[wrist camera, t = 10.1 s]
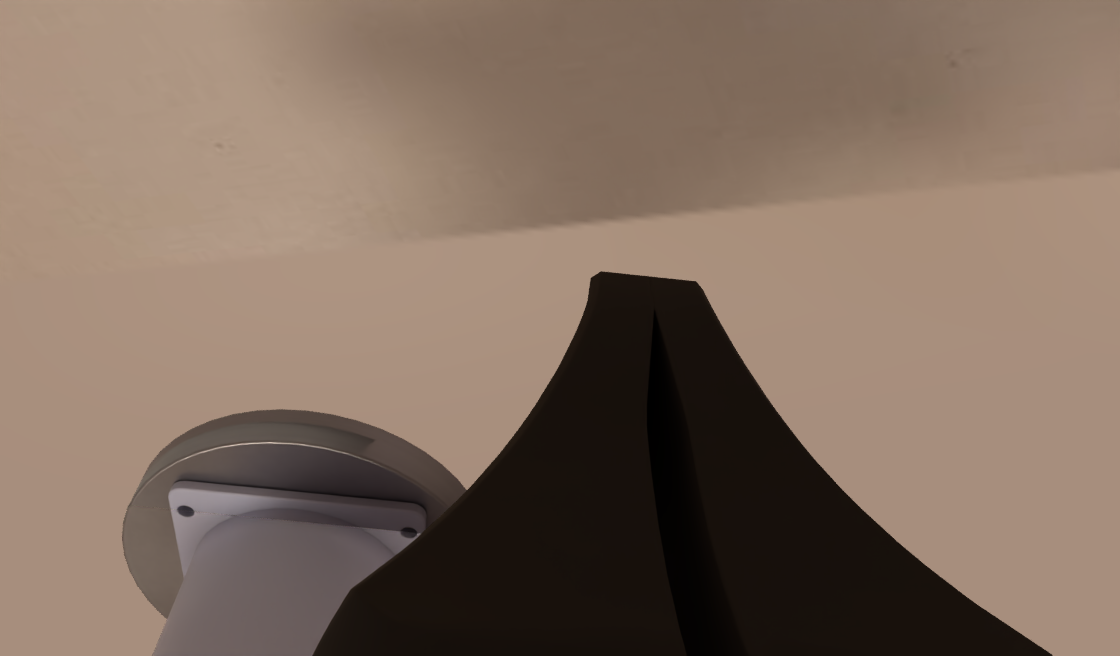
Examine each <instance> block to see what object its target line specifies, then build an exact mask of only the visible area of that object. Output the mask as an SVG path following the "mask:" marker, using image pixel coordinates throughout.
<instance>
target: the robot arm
mask: <svg viewBox="0 0 1120 656" xmlns="http://www.w3.org/2000/svg"><path fill="white" fill-rule="evenodd" d="M168 499H169V504H170V509H171V515H172V520H173V525H174V530H175V535H176V541H177V546H178V551H179V556H180V561H181V567H182V572H183V577H184V580H183V582H182V585H181V587H180V589H179V592H178V594H177V597H176V599H175V602H174V604H173V606H172V609H171V611H170V614H169V616H168V618H167V621H166V623H165V626H164V628H163V631H162V633H161V635H160V638H159V640H158V643H157V645H156V647H155V650H154V652H153V655H152V656H1052V654H1050V653H1049V652H1047V651H1046V650H1044V649H1043V648H1041V647H1040V646H1038V645H1037V644H1035V643H1034V642H1032V641H1031V640H1029V639H1028V638H1026V637H1025V636H1023V635H1022V634H1020V633H1019V632H1017V631H1016V630H1014V629H1013V628H1011V627H1010V626H1008V625H1007V624H1005V623H1004V622H1002V621H1001V620H999V619H998V618H996V617H995V616H993V615H992V614H990V613H989V612H987V611H986V610H984V609H983V608H981V607H980V606H978V605H977V604H976V603H974V602H973V601H971V600H970V599H969V598H967V597H966V596H965V595H963V594H962V593H961V592H959V591H958V590H957V589H955V588H954V587H953V586H952V585H950V584H949V583H948V582H946V581H945V580H944V579H943V578H941V577H940V576H938V575H937V574H936V573H935V572H933V571H932V570H931V569H930V568H928V567H927V566H926V565H924V564H923V563H922V562H921V561H920V560H918V559H917V558H916V557H915V556H914V555H912V554H911V553H910V552H909V551H908V550H906V549H905V548H904V547H903V546H902V545H901V544H899V543H898V542H897V541H896V540H895V539H894V538H893V537H892V536H890V535H889V534H888V533H887V532H886V531H885V530H884V529H883V528H882V527H881V526H880V525H878V524H877V523H876V522H875V521H874V520H873V519H872V518H871V517H870V516H869V515H867V514H866V513H865V512H864V511H863V510H862V509H861V508H860V507H859V506H858V505H857V504H856V503H855V502H854V501H853V500H852V499H851V498H850V497H849V496H848V495H847V494H846V493H845V492H844V491H843V490H842V489H841V488H840V487H839V486H838V485H837V484H836V482H834V480H833V479H832V478H831V477H830V476H829V475H828V474H827V473H826V472H825V471H824V469H823V468H822V467H821V466H820V465H819V464H818V463H817V462H816V461H815V460H814V458H813V457H812V456H811V455H810V454H809V452H808V451H807V450H806V449H805V447H804V446H803V445H802V444H801V442H800V441H799V440H798V439H797V437H796V436H795V435H794V434H793V432H792V431H791V430H790V428H789V427H788V426H787V424H786V423H785V422H784V420H783V419H782V418H781V416H780V415H779V414H778V412H777V411H776V410H775V408H774V407H773V405H772V404H771V403H770V401H769V400H768V398H767V397H766V395H765V394H764V392H763V391H762V390H761V388H760V386H759V385H758V383H757V382H756V380H755V379H754V377H753V376H752V374H751V373H750V371H749V370H748V368H747V367H746V365H745V364H744V362H743V360H742V359H741V357H740V356H739V354H738V352H737V351H736V349H735V347H734V346H733V344H732V342H731V341H730V339H729V337H728V335H727V334H726V332H725V330H724V329H723V327H722V325H721V323H720V321H719V320H718V318H717V316H716V314H715V313H714V310H713V309H712V307H711V305H710V303H709V301H708V299H707V297H706V295H705V293H704V291H703V289H702V288H701V287H700V286H699V284H698V283H697V282H696V281H686V280H676V279H667V278H658V277H649V276H639V275H630V274H620V273H611V272H599V273H598V274H596V275H595V276H593V277H592V278H591V281H590V288H589V295H588V301H587V305H586V308H585V311H584V314H583V316H582V319H581V321H580V324H579V326H578V329H577V331H576V333H575V335H574V338H573V339H572V341H571V343H570V346H569V347H568V350H567V352H566V353H565V355H564V357H563V360H562V361H561V364H560V365H559V367H558V369H557V371H556V373H555V374H554V376H553V377H552V379H551V381H550V382H549V384H548V385H547V387H546V389H545V391H544V392H543V394H542V395H541V397H540V399H539V400H538V402H537V403H536V405H535V407H534V408H533V409H532V411H531V412H530V414H529V415H528V417H527V418H526V420H525V421H524V422H523V424H522V425H521V427H520V428H519V429H518V431H517V432H516V433H515V435H514V436H513V437H512V439H511V440H510V441H509V442H508V444H507V445H506V446H505V448H504V449H503V450H502V451H501V453H500V454H499V455H498V456H497V458H495V460H494V461H493V462H492V463H491V464H490V466H489V467H488V468H487V469H486V470H485V471H484V472H483V473H482V475H481V476H480V477H479V478H478V479H477V480H476V481H475V483H474V484H473V485H472V486H471V487H470V488H469V489H468V490H467V491H466V492H465V493H464V494H463V495H462V496H461V497H460V498H459V499H458V500H457V501H456V502H455V503H454V504H453V505H452V506H451V507H450V508H449V509H448V510H447V511H445V512H444V513H443V514H442V515H441V516H440V517H439V518H438V519H437V520H436V521H435V522H434V523H432V524H431V525H430V526H429V527H428V528H427V529H426V518H427V515H426V511H425V510H424V509H423V508H422V507H421V506H419V505H417V504H414V503H408V502H398V501H388V500H377V499H367V498H357V497H347V496H336V495H326V494H316V493H306V492H295V491H285V490H275V489H265V488H254V487H244V486H234V485H224V484H213V483H203V482H193V481H179V482H176V483H174V485H173V486H172V487H171V489H170V492H169V495H168ZM187 506H189V507H187ZM190 507H191V508H190ZM406 527H410V528H413V529H409V528H406Z"/></svg>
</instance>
